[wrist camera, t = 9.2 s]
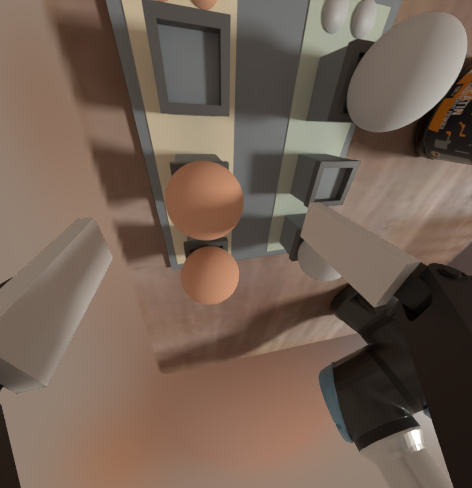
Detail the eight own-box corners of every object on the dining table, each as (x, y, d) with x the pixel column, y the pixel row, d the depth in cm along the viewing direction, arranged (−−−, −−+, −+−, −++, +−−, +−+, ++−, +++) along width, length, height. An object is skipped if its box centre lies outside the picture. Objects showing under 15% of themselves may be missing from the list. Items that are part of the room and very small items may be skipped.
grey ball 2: (372, 131, 17) (445, 136, 12) (320, 129, 16) (380, 134, 11) (409, 40, 14) (531, -1, 9) (347, 27, 12) (452, -30, 8)
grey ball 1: (320, 256, 26) (351, 286, 22) (285, 262, 25) (309, 295, 20) (335, 221, 23) (375, 248, 18) (294, 225, 22) (327, 256, 17)
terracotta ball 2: (231, 271, 23) (244, 310, 18) (184, 278, 22) (185, 322, 17) (232, 232, 20) (248, 268, 15) (176, 238, 18) (176, 280, 14)
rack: (309, 247, 32) (329, 267, 28) (171, 267, 26) (170, 295, 22) (398, -5, 16) (480, -51, 11) (85, -92, 10) (17, -245, 6)
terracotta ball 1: (232, 214, 19) (251, 249, 14) (174, 221, 17) (173, 262, 13) (233, 151, 15) (258, 171, 10) (158, 154, 14) (150, 177, 9)
